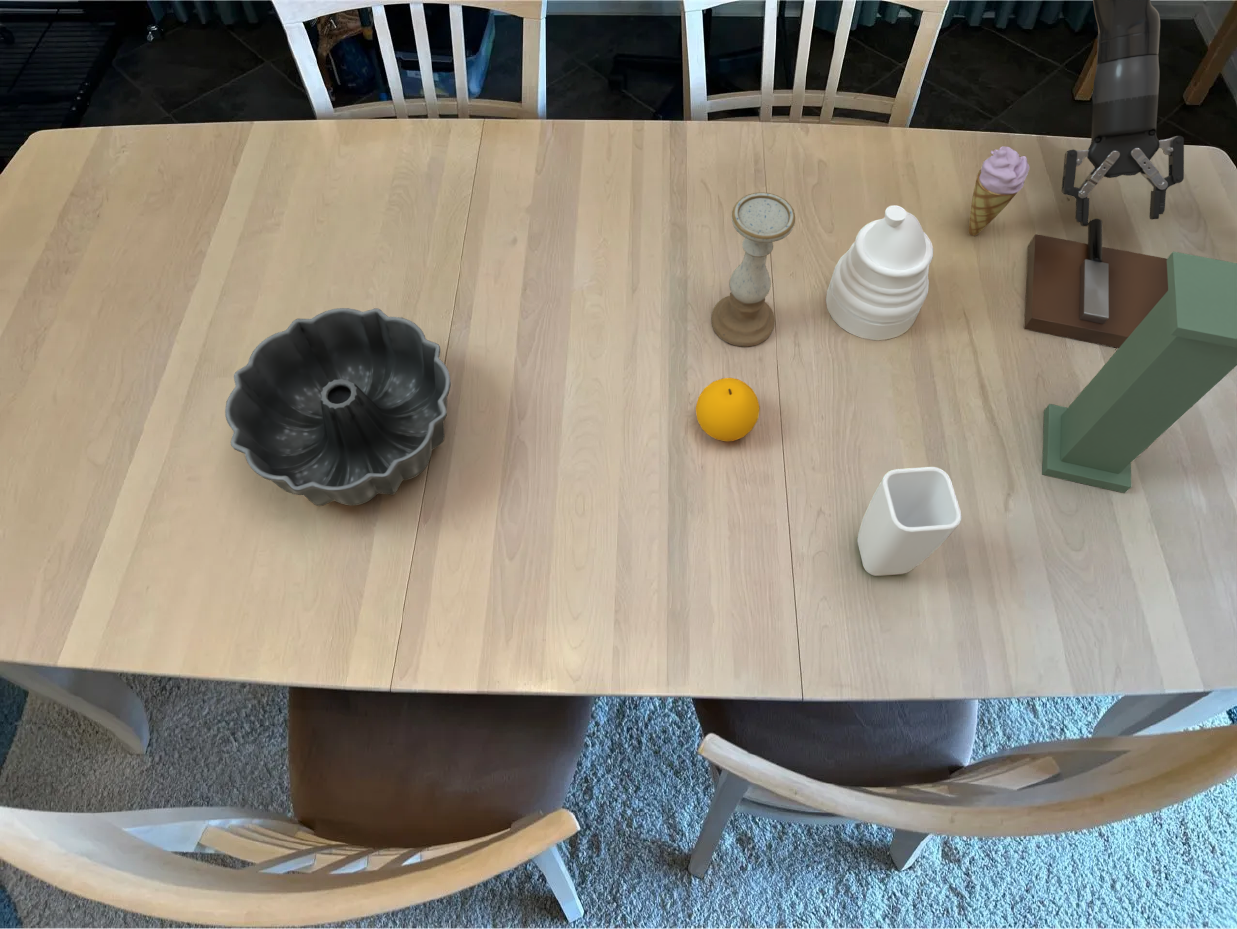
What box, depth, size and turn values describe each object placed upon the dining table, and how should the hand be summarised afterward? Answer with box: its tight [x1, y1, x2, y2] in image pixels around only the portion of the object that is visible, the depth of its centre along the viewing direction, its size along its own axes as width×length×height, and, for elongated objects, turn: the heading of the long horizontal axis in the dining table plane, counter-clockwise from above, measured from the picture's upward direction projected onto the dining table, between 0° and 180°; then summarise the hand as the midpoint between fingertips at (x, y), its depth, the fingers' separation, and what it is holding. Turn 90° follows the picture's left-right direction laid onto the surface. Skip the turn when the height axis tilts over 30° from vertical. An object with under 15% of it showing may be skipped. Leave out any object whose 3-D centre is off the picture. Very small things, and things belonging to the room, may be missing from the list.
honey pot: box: [825, 204, 934, 341], centre depth 111 cm, size 13×13×18 cm
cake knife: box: [1080, 218, 1109, 324], centre depth 117 cm, size 3×18×2 cm, turn 164°
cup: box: [856, 466, 962, 577], centre depth 94 cm, size 7×7×15 cm
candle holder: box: [710, 191, 796, 347], centre depth 108 cm, size 9×9×20 cm
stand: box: [1041, 251, 1237, 494], centre depth 94 cm, size 10×10×30 cm
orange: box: [695, 377, 761, 442], centre depth 106 cm, size 8×8×8 cm
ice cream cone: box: [967, 145, 1030, 237], centre depth 119 cm, size 7×6×15 cm
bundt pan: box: [224, 307, 452, 507], centre depth 104 cm, size 26×26×10 cm
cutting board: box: [1023, 233, 1168, 349], centre depth 118 cm, size 20×16×2 cm
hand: (1118, 222), depth 117 cm, fingers open, 8 cm apart
